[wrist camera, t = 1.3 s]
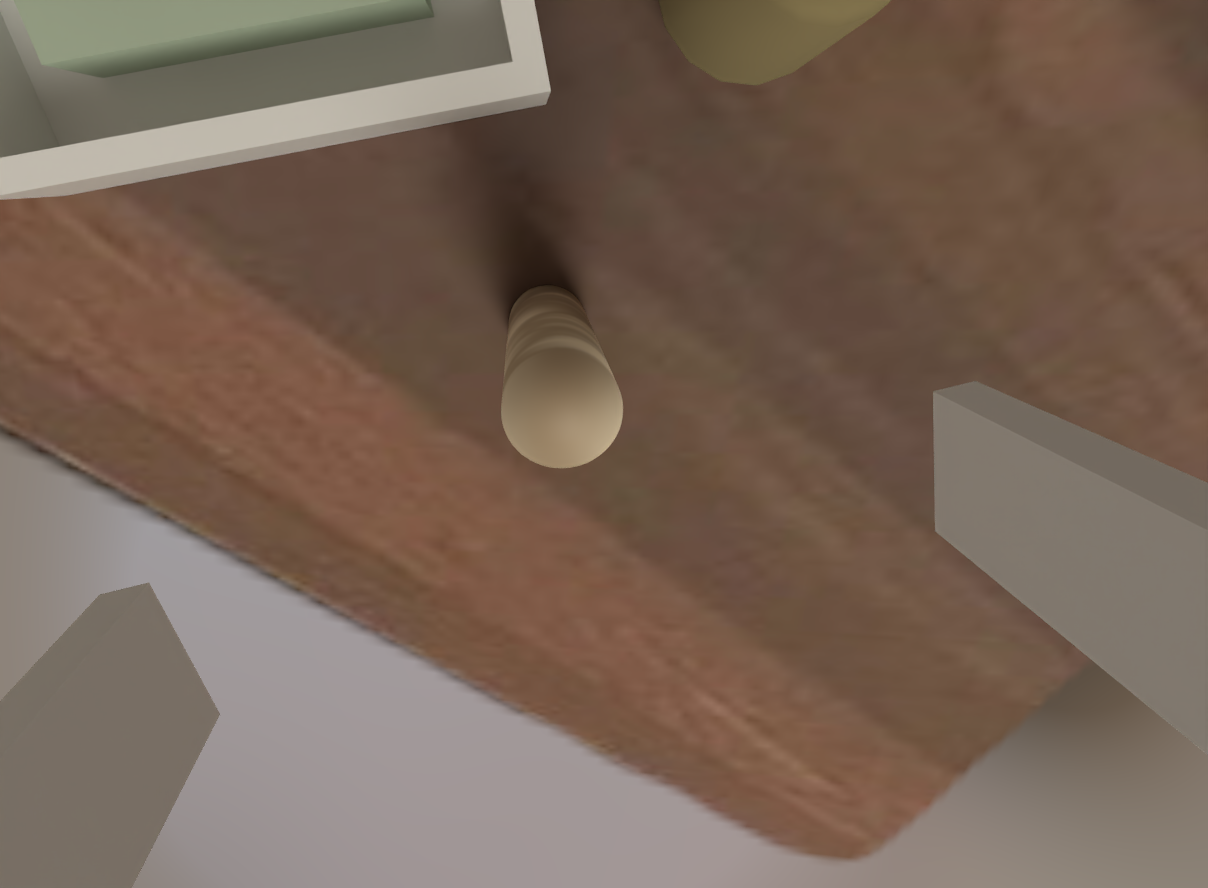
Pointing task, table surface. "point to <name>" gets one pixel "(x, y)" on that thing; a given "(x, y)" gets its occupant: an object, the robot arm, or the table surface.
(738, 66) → the squeeze bottle
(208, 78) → the open box
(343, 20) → the bore plate
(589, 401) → the peg
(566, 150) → the table surface
